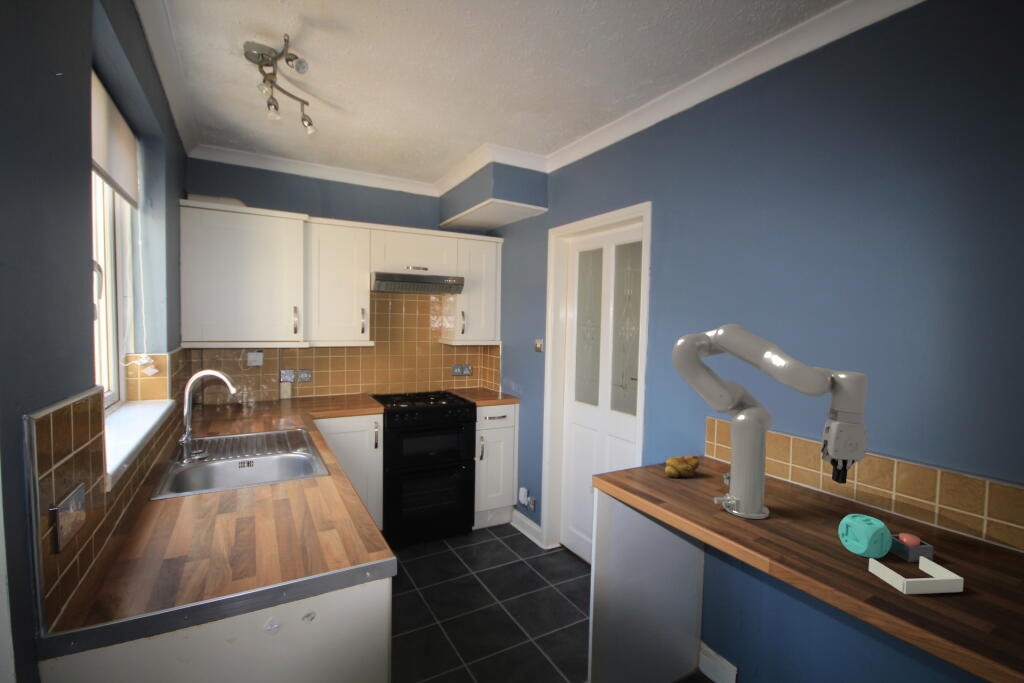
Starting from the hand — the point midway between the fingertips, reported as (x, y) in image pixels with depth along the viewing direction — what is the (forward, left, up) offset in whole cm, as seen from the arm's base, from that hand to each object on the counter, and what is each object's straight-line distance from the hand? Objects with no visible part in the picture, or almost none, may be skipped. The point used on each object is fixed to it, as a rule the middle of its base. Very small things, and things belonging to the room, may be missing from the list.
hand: (838, 481), depth 128 cm
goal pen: (0, -23, -15) cm, 27 cm away
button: (+9, -12, -13) cm, 20 cm away
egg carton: (-6, +39, -15) cm, 42 cm away
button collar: (+9, -12, -15) cm, 21 cm away
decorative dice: (0, -9, -15) cm, 18 cm away
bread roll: (-23, +48, -15) cm, 55 cm away
